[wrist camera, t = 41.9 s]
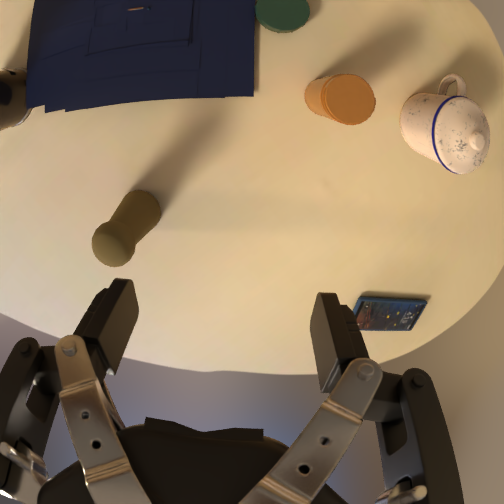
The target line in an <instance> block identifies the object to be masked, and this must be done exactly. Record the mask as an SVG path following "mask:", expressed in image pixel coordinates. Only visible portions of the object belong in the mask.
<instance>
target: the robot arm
mask: <svg viewBox="0 0 504 504" xmlns="http://www.w3.org/2000/svg"><path fill="white" fill-rule="evenodd" d="M3 69H5V70H3V71H0V130H3V129H6V128H9V127H14V126H17V125H19V124H21V123H22V122H24V121H25V119H26V118H27V117H28V115H29V114H30V112H31V109H32V108H30V109H27V110H26V79H27V69H24V68H18V69H14V70H13V69H8V68H3ZM138 314H139V307H138V302H137V298H136V293H135V289H134V284H133V281H132V280H131V279H121V278H115V279H114V280H113V282H112V284H111V285H110V287H109V288H104V289H103V290H102V291H100V292H99V293H98V294H97V295H96V296H95V298H94V299H93V301H92V303H91V305H90V306H89V308H88V309H87V311H86V313H85V314H84V316H83V318H82V319H81V321H80V323H79V325H78V326H77V328H76V330H75V332H74V333H73V335H68V336H65V337H63V338H61V339H60V340H59V341H58V342H57V344H56V345H55V346H41V347H40V345H39V344H38V342H37V340H35V339H34V338H31V337H27V338H23V339H21V340H20V341H18V342H17V343H16V345H15V346H14V348H13V350H12V352H11V353H10V355H9V357H8V359H7V361H6V363H5V365H4V367H3V369H2V371H1V373H0V493H2V494H4V495H6V496H8V497H11V498H14V499H16V500H18V501H20V502H22V503H24V504H348V503H347V502H346V501H345V500H344V499H342V498H341V497H340V496H339V495H338V494H337V493H336V492H335V491H334V490H333V489H332V488H330V487H329V486H328V485H327V484H326V481H327V479H328V478H329V477H330V475H331V474H332V472H333V471H334V469H335V468H336V466H337V465H338V463H339V462H340V460H341V459H342V457H343V455H344V454H345V452H346V451H347V449H348V447H349V445H350V444H351V442H352V440H353V439H354V437H355V435H356V434H357V432H358V430H359V428H360V426H361V424H362V422H363V420H362V419H364V420H370V421H375V423H376V428H377V435H378V441H379V447H380V454H381V460H382V467H383V475H384V482H385V491H384V492H382V493H381V494H380V495H379V496H378V498H377V499H376V502H375V504H464V499H463V494H462V488H461V482H460V477H459V472H458V468H457V463H456V459H455V455H454V451H453V447H452V443H451V440H450V436H449V432H448V429H447V425H446V422H445V418H444V415H443V412H442V409H441V406H440V403H439V400H438V397H437V394H436V391H435V388H434V385H433V382H432V380H431V378H430V376H429V375H428V374H427V373H426V372H425V371H423V370H421V369H418V368H411V369H408V370H407V371H406V372H405V373H404V374H403V375H398V374H392V373H387V372H384V371H382V369H381V367H380V366H379V365H378V364H377V363H376V362H375V361H373V360H371V359H370V358H369V355H368V352H367V349H366V346H365V343H364V340H363V337H362V334H361V331H360V329H359V326H358V324H357V320H356V317H355V315H354V313H353V312H352V310H351V309H350V308H349V307H348V306H347V305H340V303H339V300H338V297H337V294H336V293H321V292H319V293H318V294H317V297H316V301H315V305H314V309H313V312H312V316H311V320H310V333H311V338H312V344H313V349H314V355H315V360H316V366H317V372H318V377H319V383H320V389H321V393H330V395H329V396H328V398H327V399H326V401H324V402H323V404H322V405H321V406H320V408H319V409H318V411H317V412H316V413H315V415H314V416H313V418H312V419H311V420H310V422H309V423H308V424H307V426H306V427H305V428H304V430H303V431H302V433H301V434H300V435H299V436H298V438H297V439H296V440H295V441H294V443H293V444H292V445H291V447H290V448H289V447H288V446H286V445H285V444H283V443H282V442H280V441H277V440H275V439H272V438H270V437H266V436H263V429H248V428H229V429H223V430H216V431H208V432H200V431H197V430H194V429H192V428H189V427H186V426H184V425H181V424H178V423H176V422H173V421H166V420H160V419H154V418H148V417H146V419H145V423H144V424H138V425H134V426H129V427H127V428H126V427H125V425H124V423H123V422H122V420H121V418H120V416H119V414H118V412H117V410H116V407H115V405H114V403H113V401H112V398H111V396H110V393H109V391H108V388H107V386H106V383H105V381H104V378H105V376H106V374H110V375H115V374H116V372H117V369H118V366H119V364H120V361H121V359H122V356H123V353H124V351H125V348H126V346H127V343H128V341H129V338H130V336H131V333H132V331H133V329H134V326H135V324H136V321H137V319H138ZM32 383H33V384H34V386H33V388H32V390H31V393H30V395H29V398H28V401H27V403H26V397H27V395H28V392H29V390H30V387H31V385H32ZM59 402H61V406H62V409H63V413H64V417H65V420H66V423H67V427H68V430H69V433H70V436H71V439H72V442H73V445H74V448H75V450H76V453H77V456H78V458H79V460H78V461H76V462H75V463H73V464H72V465H70V466H69V467H67V468H66V469H64V470H63V471H61V472H60V473H58V474H57V475H55V476H54V477H52V478H51V479H49V480H48V481H47V478H48V472H47V470H46V465H45V462H44V460H43V455H44V451H45V447H46V444H47V440H48V437H49V433H50V430H51V427H52V423H53V420H54V417H55V414H56V411H57V408H58V405H59Z"/></svg>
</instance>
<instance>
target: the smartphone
mask: <svg viewBox="0 0 504 504" xmlns="http://www.w3.org/2000/svg"><path fill="white" fill-rule="evenodd" d="M426 304H427V301H426V300H408V299H390V298H375V297H359V298H358V300H357V303H356V305H355V307H354V309H353V313H354V315H355V317H356V320H357V324H358V326H359V329H360V330H368V331H410V330H412V328H413V327H414V325H415V323H416V322H417V320H418V318H419V317H420V315H421V313H422V311H423V310H424V308H425V306H426Z"/></svg>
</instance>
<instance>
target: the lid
mask: <svg viewBox="0 0 504 504" xmlns="http://www.w3.org/2000/svg"><path fill="white" fill-rule="evenodd" d="M255 14H256V17H257V18H256V19H258V21H259V22H260V24H261V25H263V26H264V27H265V28H267V29H268V30H271V31H273V32H277V33H289V32H291V33H292V32H293V31H295V30H297V29H299V28H300V27H301V26H303V25H305V23H306V22H307V20H308V18H309V15H310V8H309V5H308V2H307V1H306V0H258V1H257V3H256V5H255Z"/></svg>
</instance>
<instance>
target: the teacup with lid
mask: <svg viewBox="0 0 504 504" xmlns="http://www.w3.org/2000/svg"><path fill="white" fill-rule="evenodd" d="M455 81H457V85H458V88H457V95H456V96H446V92H447V89H448V87H449V85H450V84H451V83H453V82H455ZM400 128H401V132H402V135H403V137H404V139H405V141H406V143H407V144H408V145H409V146H410V147H411V148H412V149H413V150H414V151H416V152H418V153H420V154H422V155H424V156H426V157H428V158H430V159H432V160H434V161H436V162H438V163H440V164H442V165H443V166H444V167H445V168H446V169H447V170H449V171H451V172H453V173H456V174H467V173H470V172H472V171H474V170H476V169H477V168H478V167H479V166H480V165H481V164H482V163H483V161H484V159H485V158H486V155H487V153H488V149H489V144H490V130H489V125H488V122H487V119H486V117H485V115H484V113H483V111H482V110H481V108H480V107H479V106H478V105H477V104H476V103H475V102H474V101H472V100H471V99H469V98H467V97H466V84H465V81H464V79H463V78H462V77H460V76H459V75H457V74H449V75H447V76H445V77H444V78H443V79H442V81H441V82H440V85H439V88H438V92H437V94H430V93H419V94H415V95H413V96H412V97H410V98H409V99H408V100H407V101H406V103H405V104H404V106H403V108H402V111H401V115H400Z"/></svg>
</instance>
